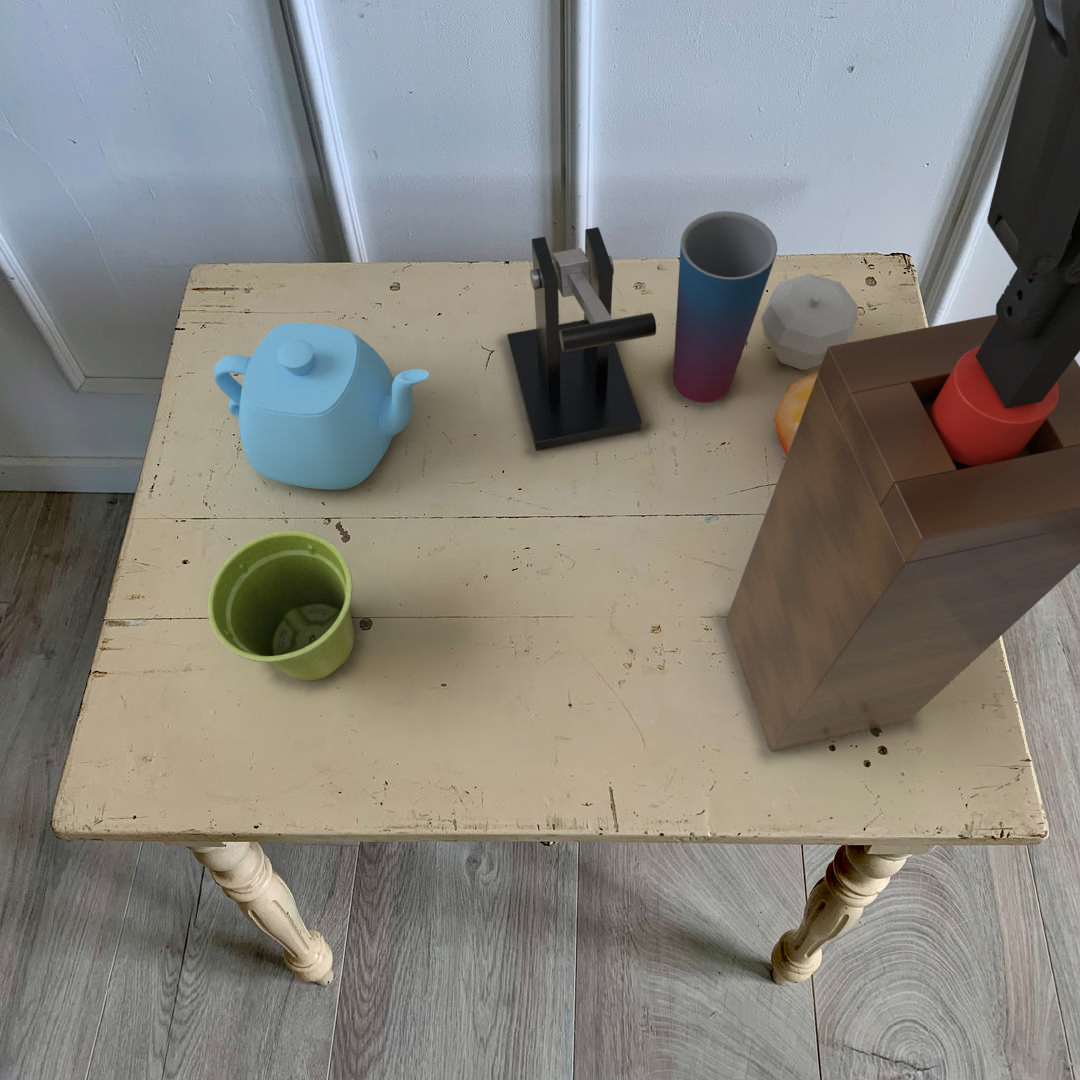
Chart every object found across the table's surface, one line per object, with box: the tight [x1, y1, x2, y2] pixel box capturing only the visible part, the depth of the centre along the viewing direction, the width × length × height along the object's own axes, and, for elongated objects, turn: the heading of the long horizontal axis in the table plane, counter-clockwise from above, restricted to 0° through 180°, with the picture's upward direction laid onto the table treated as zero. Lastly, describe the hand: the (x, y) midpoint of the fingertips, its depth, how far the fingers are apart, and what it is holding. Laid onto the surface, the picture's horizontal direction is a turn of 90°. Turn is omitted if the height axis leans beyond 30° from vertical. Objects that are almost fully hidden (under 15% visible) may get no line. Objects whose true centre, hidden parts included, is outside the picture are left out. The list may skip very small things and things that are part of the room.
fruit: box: [773, 372, 818, 457], centre depth 70 cm, size 8×8×8 cm
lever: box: [551, 247, 657, 352], centre depth 61 cm, size 13×6×2 cm, turn 12°
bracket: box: [506, 226, 643, 451], centre depth 70 cm, size 12×9×15 cm
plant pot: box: [207, 530, 355, 681], centre depth 62 cm, size 9×9×9 cm
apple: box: [760, 273, 858, 371], centre depth 74 cm, size 8×8×7 cm
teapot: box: [213, 322, 430, 491], centre depth 70 cm, size 13×11×18 cm
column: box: [725, 313, 1080, 752], centre depth 50 cm, size 10×10×30 cm
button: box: [928, 346, 1059, 467], centre depth 37 cm, size 4×4×3 cm
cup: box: [672, 210, 778, 403], centre depth 70 cm, size 7×7×15 cm
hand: (1008, 377), depth 35 cm, fingers closed
